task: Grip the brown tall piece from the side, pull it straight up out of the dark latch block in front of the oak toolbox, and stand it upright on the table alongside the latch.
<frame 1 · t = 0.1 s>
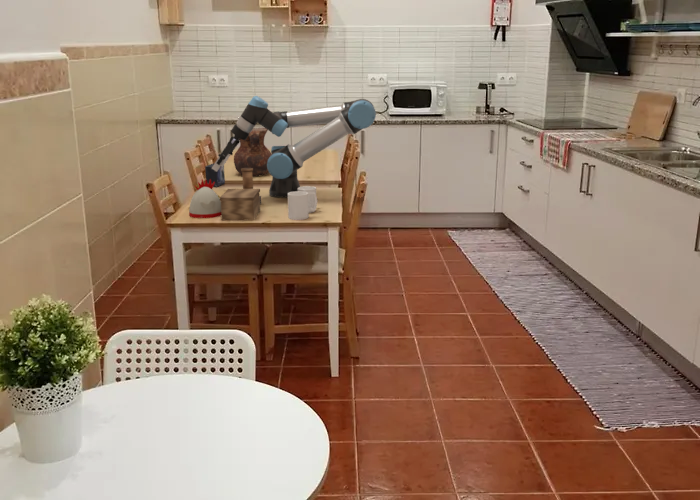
hand: (217, 167, 312), 15 cm above the table, tool tilted 35°, fingers open, 13 cm apart
brown vase: (254, 175, 383), on the table
cup: (303, 217, 283), on the table
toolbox: (241, 214, 288), on the table
brown tall piece: (248, 204, 307), resting in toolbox
grey and red dome: (206, 215, 290), on the table
small box: (215, 185, 353), on the table
white cup: (307, 211, 294), on the table
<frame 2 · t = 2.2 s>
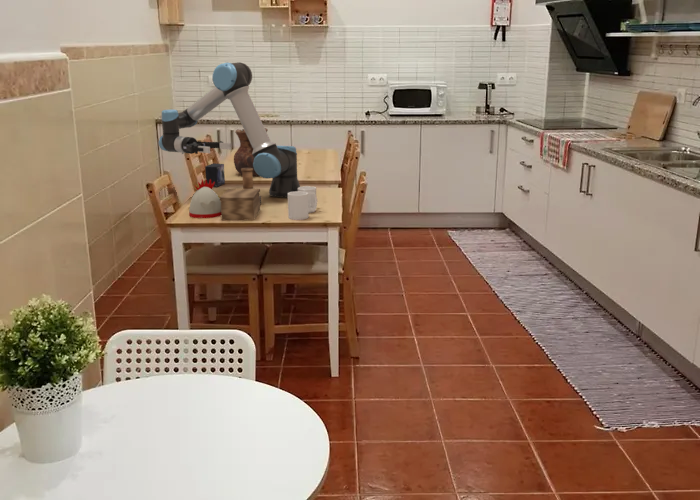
hand: (220, 148, 311), 24 cm above the table, tool horizontal, fingers open, 13 cm apart
nothing on the table moved.
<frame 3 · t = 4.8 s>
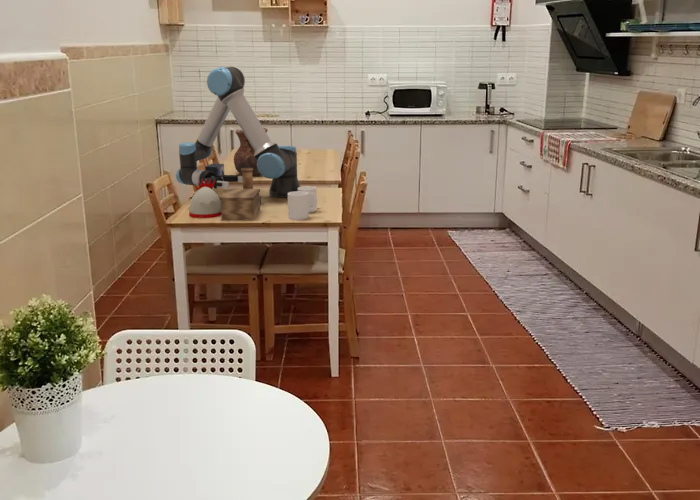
hand: (239, 182, 307), 9 cm above the table, tool horizontal, fingers open, 13 cm apart
nothing on the table moved.
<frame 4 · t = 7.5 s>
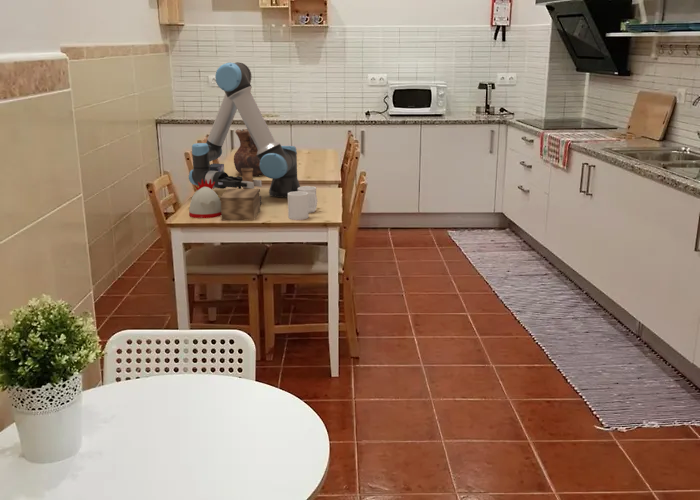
hand: (257, 184, 302), 10 cm above the table, tool horizontal, fingers closed on brown tall piece, 4 cm apart
brown tall piece: (248, 204, 307), resting in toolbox, touching gripper
everything else where it was.
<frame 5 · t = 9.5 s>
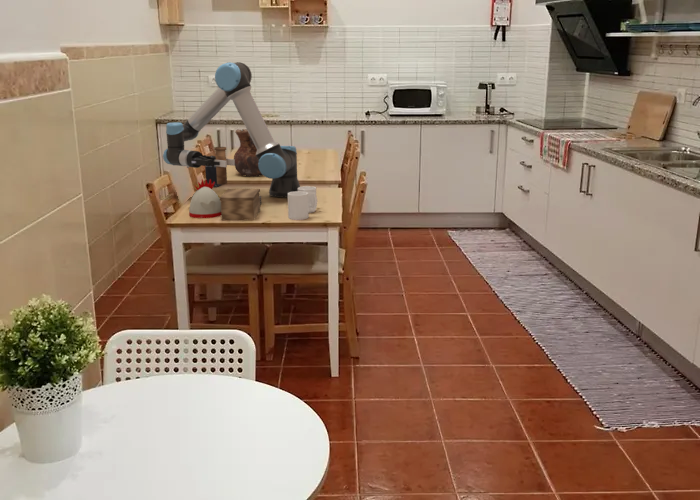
hand: (230, 163, 303), 18 cm above the table, tool horizontal, fingers closed on brown tall piece, 4 cm apart
brown tall piece: (222, 183, 309), point 9 cm above the table, touching gripper
everything else where it was.
when the fingers open (11 cm above the table, at t = 11.6 s): brown tall piece drops 1 cm, on the table.
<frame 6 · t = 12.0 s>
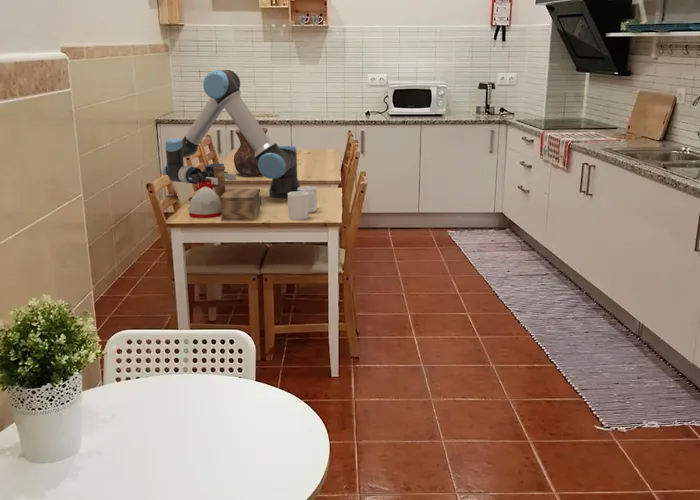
hand: (226, 179, 306), 11 cm above the table, tool horizontal, fingers open, 11 cm apart
brown tall piece: (221, 202, 312), on the table
everything else where it was.
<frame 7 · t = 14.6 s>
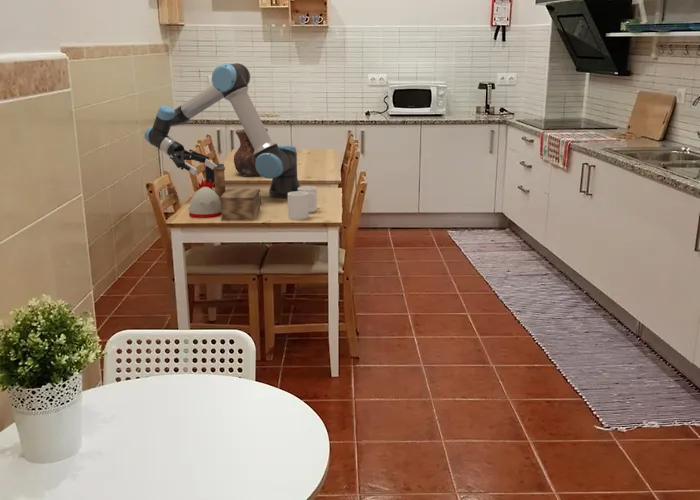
hand: (206, 170, 316), 13 cm above the table, tool tilted 65°, fingers open, 13 cm apart
nothing on the table moved.
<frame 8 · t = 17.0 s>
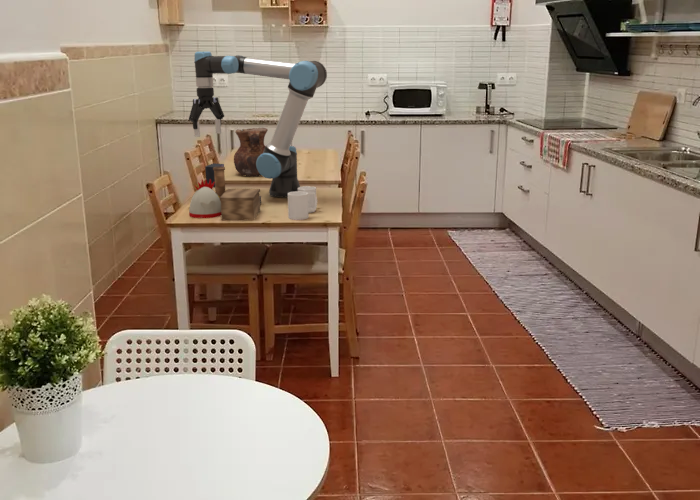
hand: (208, 135, 317), 29 cm above the table, tool pointing down, fingers open, 13 cm apart
nothing on the table moved.
at the end: brown tall piece inside the target area (0.1 cm from its centre), on the table; brown tall piece tilted 0°; the gripper is holding nothing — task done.
